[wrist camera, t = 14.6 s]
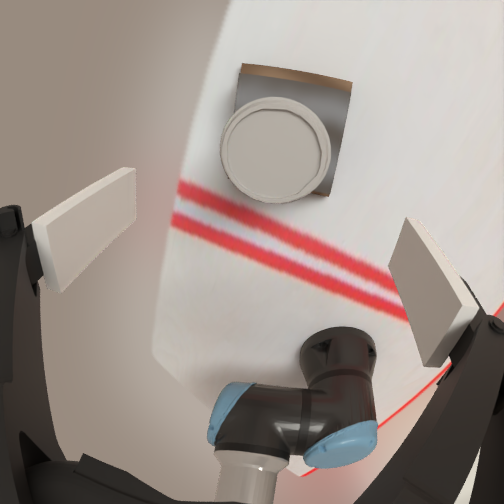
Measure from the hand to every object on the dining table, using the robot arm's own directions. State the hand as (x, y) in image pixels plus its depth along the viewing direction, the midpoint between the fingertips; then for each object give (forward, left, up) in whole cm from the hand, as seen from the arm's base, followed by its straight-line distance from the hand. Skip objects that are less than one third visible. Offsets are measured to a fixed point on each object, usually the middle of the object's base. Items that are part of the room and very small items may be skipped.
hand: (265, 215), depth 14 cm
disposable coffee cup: (0, +1, -24) cm, 24 cm away
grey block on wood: (0, 0, -29) cm, 29 cm away
